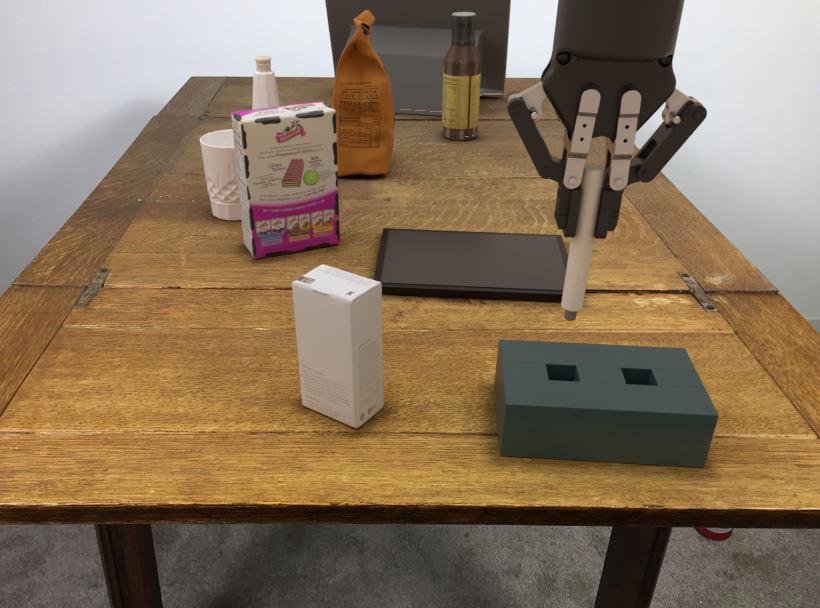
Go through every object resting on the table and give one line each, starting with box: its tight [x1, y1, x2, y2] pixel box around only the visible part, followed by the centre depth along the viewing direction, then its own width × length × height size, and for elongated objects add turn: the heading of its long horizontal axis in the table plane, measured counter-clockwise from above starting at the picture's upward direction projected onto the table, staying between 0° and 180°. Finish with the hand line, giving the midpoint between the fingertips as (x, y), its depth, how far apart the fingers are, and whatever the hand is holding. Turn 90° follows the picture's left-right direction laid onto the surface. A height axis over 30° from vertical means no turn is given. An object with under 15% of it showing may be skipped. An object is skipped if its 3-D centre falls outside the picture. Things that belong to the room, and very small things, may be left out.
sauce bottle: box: [441, 12, 481, 142], centre depth 130 cm, size 6×6×20 cm
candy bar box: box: [230, 101, 341, 260], centre depth 92 cm, size 11×5×16 cm, turn 114°
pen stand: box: [493, 338, 720, 468], centre depth 64 cm, size 10×16×5 cm, turn 85°
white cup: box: [199, 128, 242, 221], centre depth 103 cm, size 8×8×10 cm
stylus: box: [560, 163, 605, 322], centre depth 57 cm, size 2×2×12 cm
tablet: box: [373, 227, 569, 303], centre depth 91 cm, size 16×22×1 cm
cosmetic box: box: [291, 263, 385, 429], centre depth 64 cm, size 6×4×12 cm
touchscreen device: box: [324, 0, 512, 117], centre depth 148 cm, size 35×20×30 cm, turn 77°
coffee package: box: [330, 10, 396, 178], centre depth 116 cm, size 10×12×22 cm
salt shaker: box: [251, 55, 281, 110], centre depth 141 cm, size 5×5×11 cm
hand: (583, 233), depth 57 cm, fingers closed on stylus, 1 cm apart
